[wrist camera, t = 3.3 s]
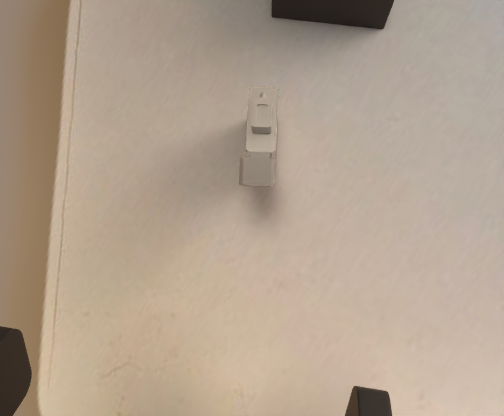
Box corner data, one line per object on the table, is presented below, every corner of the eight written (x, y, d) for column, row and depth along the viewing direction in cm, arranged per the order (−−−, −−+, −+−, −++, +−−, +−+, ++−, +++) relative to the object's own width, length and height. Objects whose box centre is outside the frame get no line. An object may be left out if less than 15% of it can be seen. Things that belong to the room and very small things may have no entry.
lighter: (251, 117, 32) (246, 49, 24) (277, 117, 32) (279, 50, 24) (246, 218, 30) (238, 181, 22) (273, 220, 30) (274, 183, 22)
